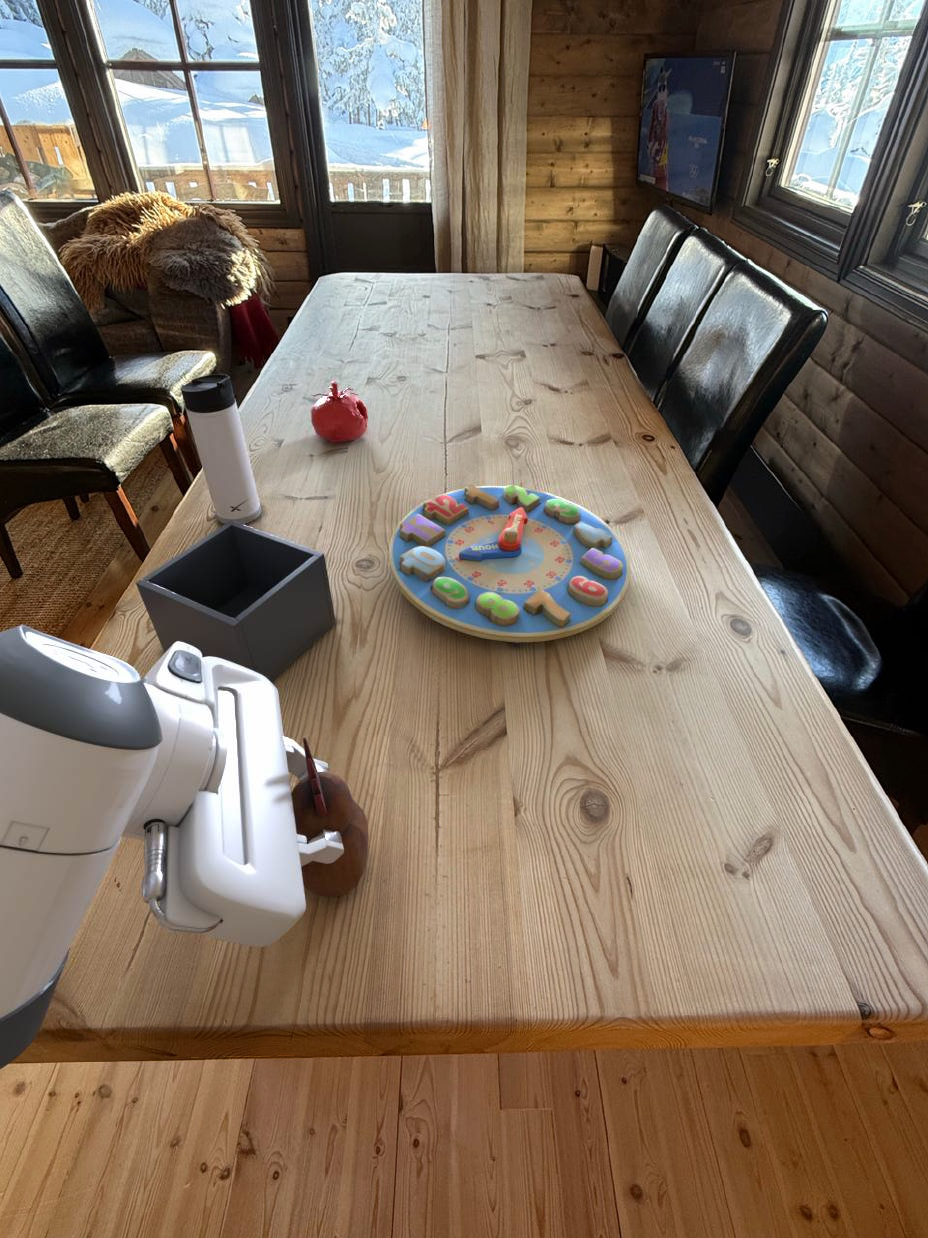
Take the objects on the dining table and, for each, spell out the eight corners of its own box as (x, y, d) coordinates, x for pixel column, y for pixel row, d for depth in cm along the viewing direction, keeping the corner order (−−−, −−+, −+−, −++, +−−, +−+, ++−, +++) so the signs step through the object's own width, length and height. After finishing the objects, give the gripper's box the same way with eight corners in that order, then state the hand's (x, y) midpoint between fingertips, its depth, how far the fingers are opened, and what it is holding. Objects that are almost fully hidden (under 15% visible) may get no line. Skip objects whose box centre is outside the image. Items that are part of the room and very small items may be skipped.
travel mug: (248, 529, 93) (212, 390, 79) (208, 521, 94) (167, 383, 81) (271, 507, 97) (241, 372, 84) (233, 500, 99) (198, 366, 86)
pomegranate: (325, 453, 110) (317, 399, 104) (304, 430, 116) (296, 378, 110) (379, 440, 114) (374, 387, 108) (356, 418, 120) (350, 367, 114)
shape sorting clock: (527, 693, 69) (531, 652, 65) (341, 575, 85) (335, 536, 81) (673, 565, 86) (682, 527, 82) (495, 486, 102) (497, 450, 98)
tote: (255, 697, 69) (233, 625, 62) (164, 653, 74) (135, 582, 67) (336, 622, 78) (324, 553, 71) (249, 587, 83) (231, 519, 76)
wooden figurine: (310, 832, 57) (278, 719, 47) (376, 834, 57) (358, 721, 47) (292, 910, 52) (252, 801, 42) (365, 912, 52) (342, 804, 42)
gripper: (174, 891, 32) (387, 922, 40) (180, 624, 47) (335, 689, 55) (108, 958, 34) (325, 974, 42) (133, 681, 49) (291, 735, 57)
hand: (330, 811), depth 49 cm, fingers closed on wooden figurine, 5 cm apart
